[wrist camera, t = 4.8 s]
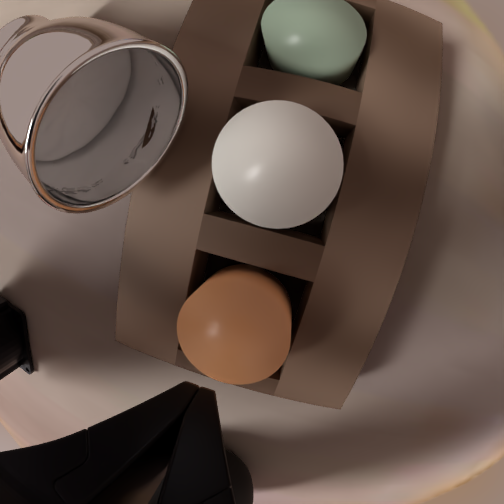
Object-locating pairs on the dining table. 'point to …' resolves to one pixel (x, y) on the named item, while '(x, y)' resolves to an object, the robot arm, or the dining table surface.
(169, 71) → the beer glass
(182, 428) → the robot arm
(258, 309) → the brown rounded piece
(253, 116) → the cream button
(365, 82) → the button panel
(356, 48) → the green button
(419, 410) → the dining table surface
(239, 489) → the cola bottle
